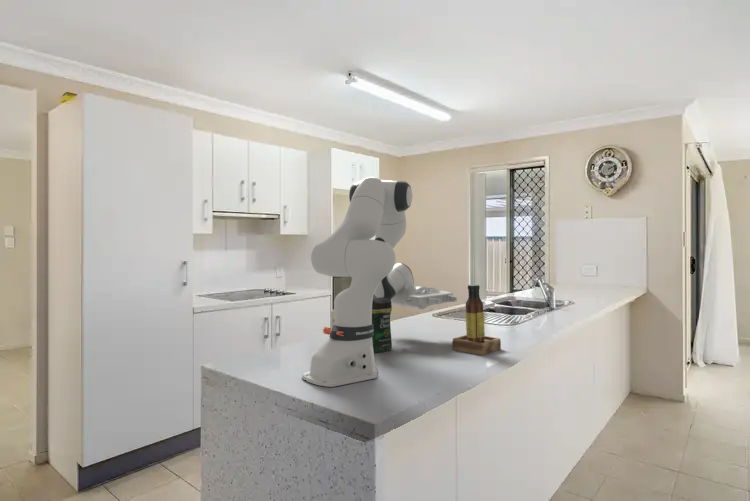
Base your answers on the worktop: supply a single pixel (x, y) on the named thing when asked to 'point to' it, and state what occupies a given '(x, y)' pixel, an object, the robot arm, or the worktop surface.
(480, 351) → the tray
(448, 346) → the worktop surface
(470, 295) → the sauce bottle
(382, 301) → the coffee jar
